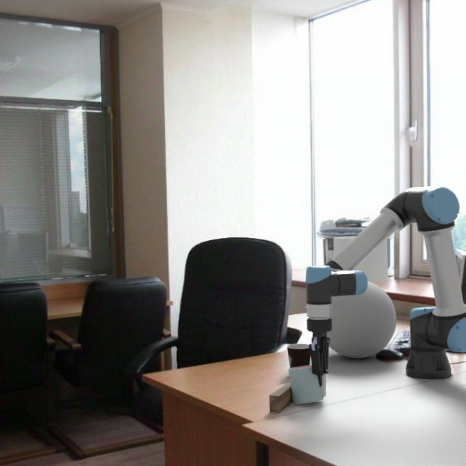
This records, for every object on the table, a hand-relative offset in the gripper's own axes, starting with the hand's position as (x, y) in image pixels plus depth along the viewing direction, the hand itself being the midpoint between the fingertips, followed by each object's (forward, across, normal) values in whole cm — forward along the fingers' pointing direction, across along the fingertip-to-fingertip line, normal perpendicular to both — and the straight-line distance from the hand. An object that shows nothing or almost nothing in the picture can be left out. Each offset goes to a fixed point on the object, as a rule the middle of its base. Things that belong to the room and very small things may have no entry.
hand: (320, 395), depth 213 cm
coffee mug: (+2, -33, -19) cm, 38 cm away
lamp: (+1, -98, -14) cm, 99 cm away
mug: (+2, 0, -2) cm, 3 cm away
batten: (+2, 0, -10) cm, 10 cm away
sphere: (+2, -64, -7) cm, 65 cm away
